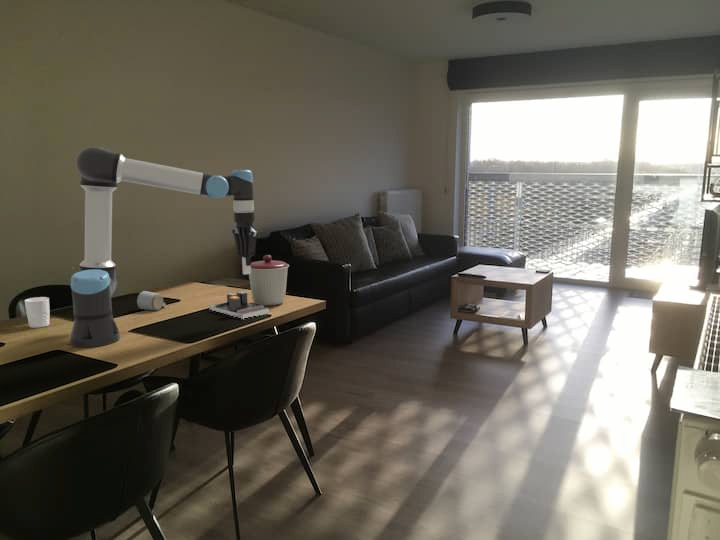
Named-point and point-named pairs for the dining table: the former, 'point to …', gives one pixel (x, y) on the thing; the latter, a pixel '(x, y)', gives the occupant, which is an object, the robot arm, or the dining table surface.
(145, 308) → the ceramic mug
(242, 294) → the serrated grey base plate
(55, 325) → the dining table surface
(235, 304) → the toggle
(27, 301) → the white cup
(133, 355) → the dining table surface
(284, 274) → the canister
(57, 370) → the dining table surface
